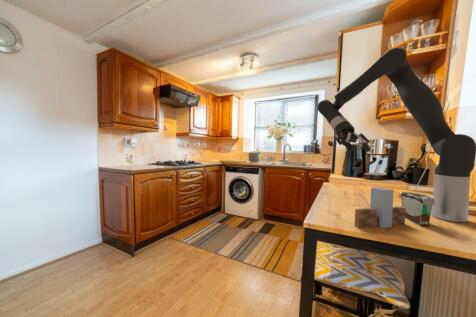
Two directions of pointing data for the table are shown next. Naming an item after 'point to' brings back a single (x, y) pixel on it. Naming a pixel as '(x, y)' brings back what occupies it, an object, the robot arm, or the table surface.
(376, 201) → the slate block
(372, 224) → the walnut board
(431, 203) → the food container
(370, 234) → the table surface
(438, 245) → the table surface
